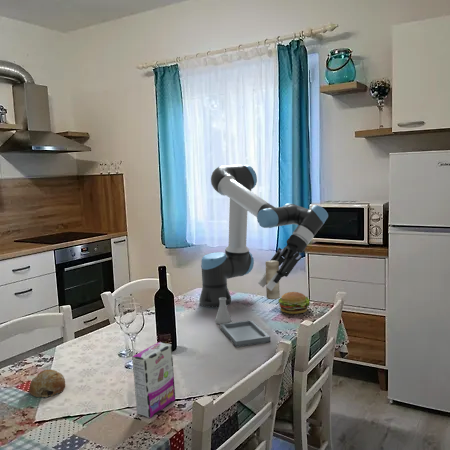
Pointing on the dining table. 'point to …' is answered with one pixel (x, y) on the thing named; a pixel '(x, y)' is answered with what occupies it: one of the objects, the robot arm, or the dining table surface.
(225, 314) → the flask
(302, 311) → the food
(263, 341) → the tray
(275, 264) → the birch peg
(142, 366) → the candy bar box
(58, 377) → the bread roll
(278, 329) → the dining table surface
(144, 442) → the dining table surface
